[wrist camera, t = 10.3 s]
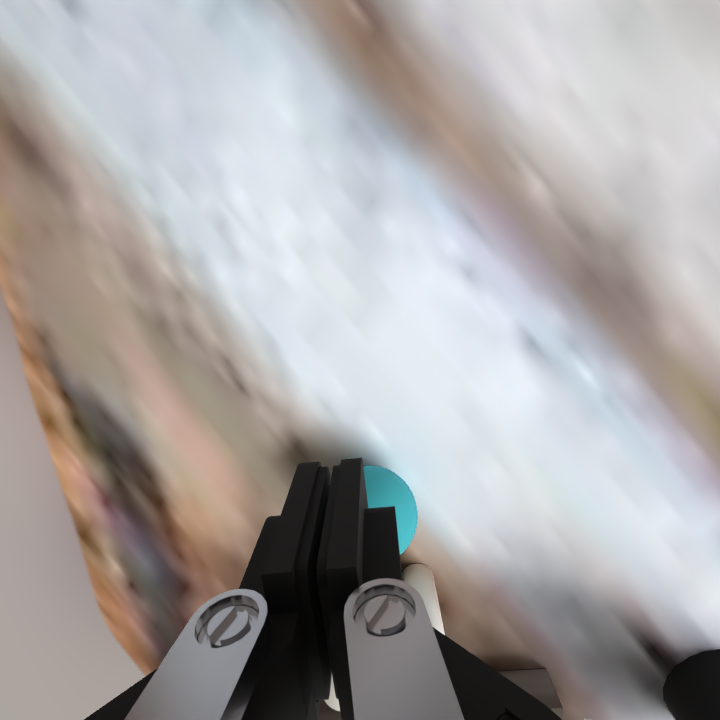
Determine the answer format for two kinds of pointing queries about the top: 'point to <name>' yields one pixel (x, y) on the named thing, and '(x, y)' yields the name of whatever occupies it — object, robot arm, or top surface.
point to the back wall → (528, 680)
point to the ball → (392, 500)
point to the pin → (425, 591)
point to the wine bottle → (695, 688)
